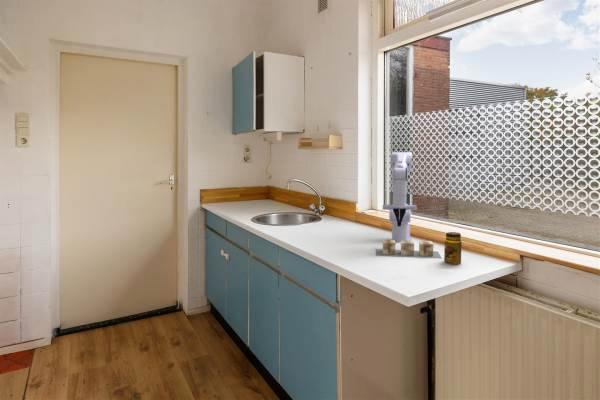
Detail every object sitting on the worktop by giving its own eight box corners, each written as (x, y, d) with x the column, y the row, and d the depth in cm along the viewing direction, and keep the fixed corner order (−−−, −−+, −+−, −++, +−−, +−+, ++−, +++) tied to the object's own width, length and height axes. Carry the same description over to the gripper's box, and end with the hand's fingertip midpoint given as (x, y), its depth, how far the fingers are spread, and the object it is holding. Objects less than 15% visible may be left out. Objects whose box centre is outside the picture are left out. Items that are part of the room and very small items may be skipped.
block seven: (431, 253, 162) (431, 241, 161) (433, 256, 157) (433, 244, 156) (419, 252, 163) (419, 240, 162) (420, 255, 158) (420, 243, 157)
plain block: (412, 252, 163) (413, 240, 163) (413, 255, 158) (414, 243, 158) (400, 251, 164) (400, 240, 164) (401, 254, 159) (401, 243, 159)
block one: (394, 251, 165) (394, 239, 164) (395, 254, 160) (395, 242, 159) (382, 251, 166) (382, 239, 165) (382, 254, 161) (383, 242, 160)
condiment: (442, 265, 146) (443, 234, 145) (443, 259, 154) (444, 230, 153) (462, 267, 143) (464, 235, 142) (463, 261, 151) (464, 231, 150)
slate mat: (437, 252, 164) (437, 251, 164) (441, 259, 154) (442, 258, 153) (375, 250, 169) (375, 249, 169) (375, 257, 159) (375, 255, 159)
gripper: (382, 196, 166) (382, 227, 167) (417, 196, 163) (417, 228, 164) (382, 194, 173) (382, 224, 174) (416, 194, 170) (415, 225, 171)
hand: (399, 225), depth 170 cm, fingers closed
